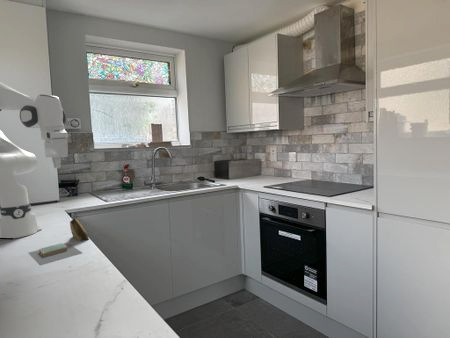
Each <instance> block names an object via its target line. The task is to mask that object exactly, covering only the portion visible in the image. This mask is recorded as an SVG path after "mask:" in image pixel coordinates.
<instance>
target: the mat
mask: <svg viewBox="0 0 450 338" xmlns="http://www.w3.org/2000/svg"><path fill="white" fill-rule="evenodd" d="M62 244H63V245H65V246H66V247H67V251H64V252H60V253H57V254H53V255H49V256H46V257H44V256H42V255H41V254H40V253H39V249H38V250H34V251H33V250H32V251H30V252H28V255H29V256H31V257H32V258H33V260H35V262H36V263H37V264H38V265H39V266H43V265H48V264H51V263H53V262H56V261H60V260H63V259H68V258H70V257H74V256H78V255H82V254H83V252H82V251H81V250H79V249H77V248H76V247H75V246H73V245H71V244H70V243H69V242H65V243H62Z"/></svg>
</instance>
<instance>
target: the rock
mask: <svg viewBox="0 0 450 338" xmlns="http://www.w3.org/2000/svg"><path fill="white" fill-rule="evenodd" d="M69 226H70V227H69V228H70V231H71V234H72V237H73V238H75V240H77V242H82V241H88V240H90V238H89V236H88V233H87V230H86V229H85V227H84V226H83V225H82V223H81V221H79V220H78V219H77V218H76V217H74V218H73V219H71V220H70V221H69Z"/></svg>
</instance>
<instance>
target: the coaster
mask: <svg viewBox="0 0 450 338" xmlns="http://www.w3.org/2000/svg"><path fill="white" fill-rule="evenodd" d="M63 244H64V243H57V244H54V245H50V246H46V247H42V248H39V249H38V250H39V253H40V254H41V255H42V256H44V257H46V256H49V255H53V254H57V253H60V252H64V251H67V247H66V246H65V245H63Z"/></svg>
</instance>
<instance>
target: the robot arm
mask: <svg viewBox="0 0 450 338" xmlns="http://www.w3.org/2000/svg"><path fill="white" fill-rule="evenodd" d="M2 110H3V111H4V110H5V111H19V119H20V122H21V123H22V125H24V127H25V128H29V129H39V130H40V136H41V140H43V141H44V142H43V143H44V144H43V146H44V155H45V157H46V158H51V161H52V164H53V168H54V169H61V168H62V165H61V162H62V158H65V157H68V154H69V150H68V149H69V147H68V137H69V134H68V133H69V132H67V131H66V129H65V124H66V122H67V114H66V112H65V110H64V109H63V107H62V102H61V100H60V97H58V96H56V95H50V94H39V95H36V98H34V97H31V96H29V95H27V94H25V93H23V92H20V91H18V90H17V89H15V88H13V87H11V86H9V85H6V84H5V83H4V82H2V81H0V112H1V111H2ZM37 167H38V159H37V157H36V155H35V154H34V153H32V152H30V151H27V150H26V149H25V150H24V149H22V148H21V147H19V146H18V145H16V144H14V143H13V142H12V141H11V140H10V139H8V137H7V136H6V135H5V133H3V131H2V130H1V129H0V216H1V217H0V238H13V239H19V238H23V237H26V236H30V235H33V234H36V233H37V232H39V231H42V229H43V228H42V227H40V226H39V225H38V221H37V217H36V214H35V213H34V212H33V211H32V205H31V203H30V199H29V194H28V188H27V186H25V185H24V184H22V183H19V182H18V181H17V179H16V177H15V176H19V175H25V174H28V173H31V172H33V171H35V170H36V169H37Z"/></svg>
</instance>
